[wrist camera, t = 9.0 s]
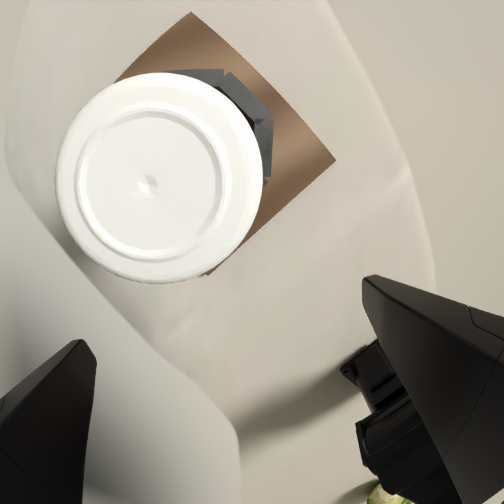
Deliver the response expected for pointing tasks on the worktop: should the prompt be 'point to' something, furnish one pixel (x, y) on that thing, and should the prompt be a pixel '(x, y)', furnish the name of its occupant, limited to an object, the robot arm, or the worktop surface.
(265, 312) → the worktop surface
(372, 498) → the lettuce
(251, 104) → the socket collar
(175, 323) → the worktop surface
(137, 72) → the socket board
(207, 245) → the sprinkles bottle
